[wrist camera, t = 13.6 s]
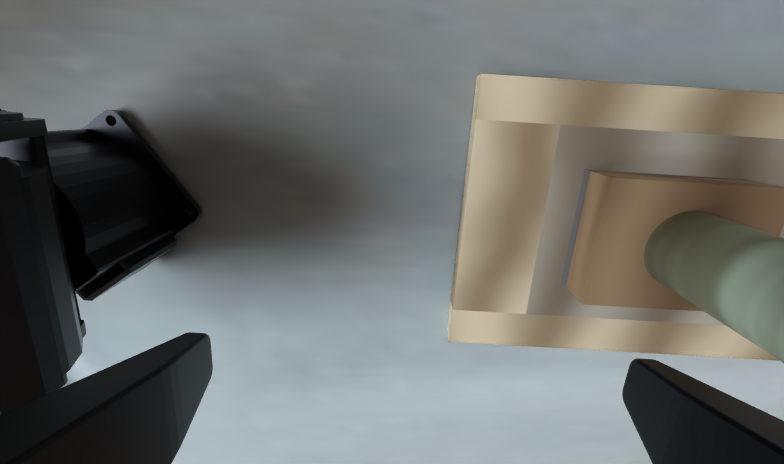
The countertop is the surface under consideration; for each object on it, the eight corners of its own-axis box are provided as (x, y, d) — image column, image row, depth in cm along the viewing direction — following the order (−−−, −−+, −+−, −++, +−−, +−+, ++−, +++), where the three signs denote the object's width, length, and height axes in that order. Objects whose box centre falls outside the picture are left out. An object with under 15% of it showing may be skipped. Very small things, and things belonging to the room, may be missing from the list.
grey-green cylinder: (561, 282, 21) (731, 457, 10) (584, 169, 19) (819, 241, 8) (709, 290, 21) (1029, 473, 10) (746, 179, 19) (1177, 263, 9)
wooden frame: (446, 331, 23) (449, 341, 22) (477, 75, 19) (481, 73, 18) (816, 353, 23) (835, 363, 22) (927, 105, 19) (955, 104, 18)
